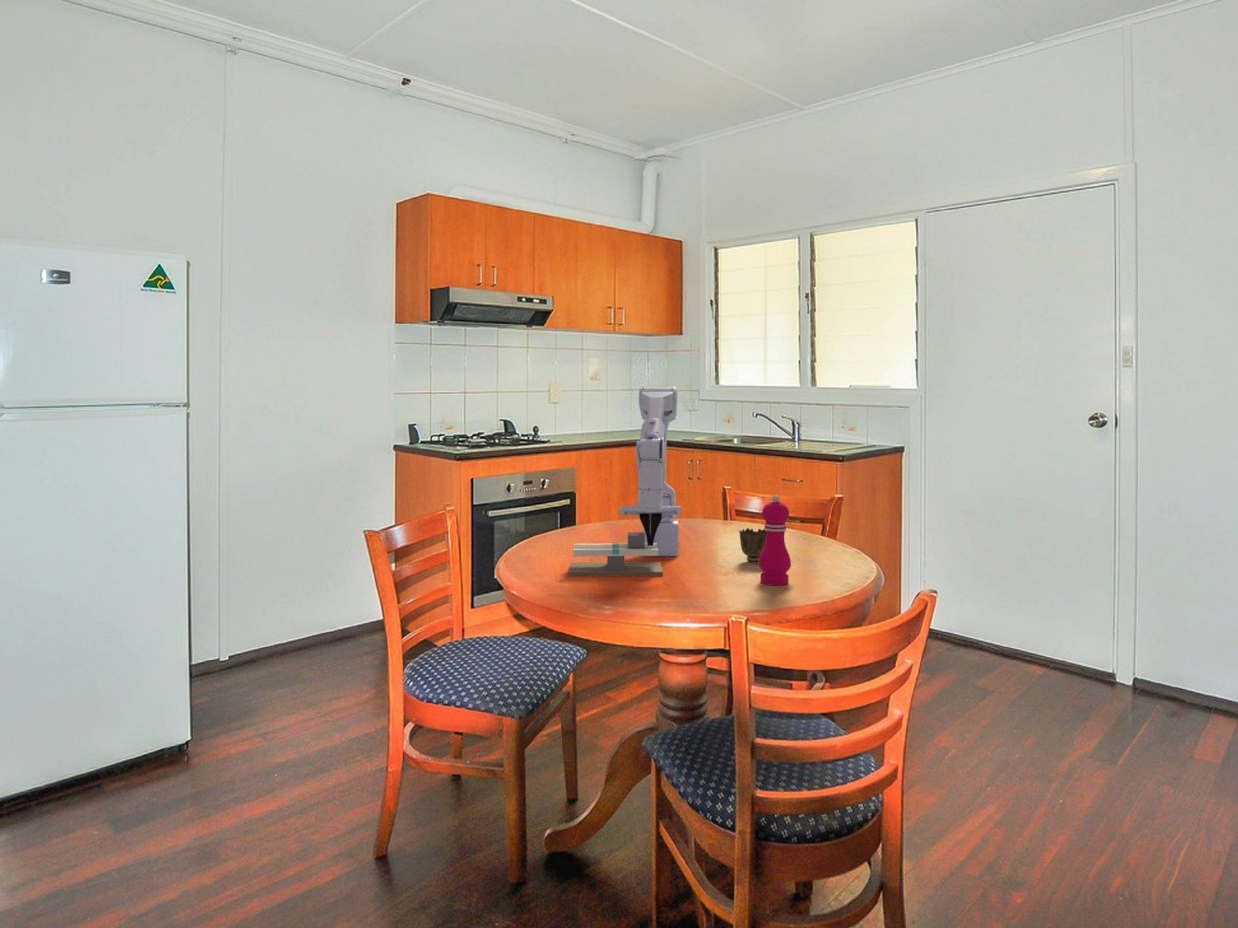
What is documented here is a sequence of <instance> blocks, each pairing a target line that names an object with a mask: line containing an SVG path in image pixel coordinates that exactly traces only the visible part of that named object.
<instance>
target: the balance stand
mask: <svg viewBox="0 0 1238 928" xmlns="http://www.w3.org/2000/svg"><path fill="white" fill-rule="evenodd" d="M572 550H573V551H572V553H573V557H606V558H607V560H606V561H607V562H606V561H605V562H604V561H601V562H600V561H599V562H594V561H593V562H590V561H588V562H587V561H585V562H584V561H583V562H581V561H579V562H577V561H576V562H570V565H569V571H568V577H664V571H663V568H662V564H661V561H625V557H659V556H658V549H657V543H653V546H648V545H647V543H645V549H628V543H619V542H612V543H574V548H573V549H572Z"/></svg>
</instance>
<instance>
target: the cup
mask: <svg viewBox="0 0 1238 928" xmlns="http://www.w3.org/2000/svg"><path fill="white" fill-rule="evenodd" d="M739 539H740V541H739V542H740V547H741V551H742V553H743V554H744V555H745V556H746V561H747V562H748V563H751V564H757V563H758V564H759V557H760V554H761V552H762V550H763V548H764V546H765V542H766V530H765V529H764V528H763V529H761V528H758V529H757V530H756V531H754V528H751V529H750V528H748V527H746V529H744V528H743V529H742V530H741V529H740V530H739Z"/></svg>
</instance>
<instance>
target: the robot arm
mask: <svg viewBox="0 0 1238 928" xmlns="http://www.w3.org/2000/svg"><path fill="white" fill-rule="evenodd" d="M638 406H639V412H640V416H641V419H642V420H643V422H642V425H641V430H640V436H639V440H637V441H636V446H635V455H636V462H637V463H636V464H637V467H636V468H637V470H638V491H637V493H638V494H637V495H638V496H637V497H638V498H637V505H627V506H625V505H624V506H623V505H621V506H619V516H621V517H623V516H638V518H639V520H640V523H641V525H642V532H644V534H645V543H647V545H648V546H653V543H657V549H658V556H657V557H679V556H680V555H679V548H680V541H679V540H680V539H679V534H680V533H679V521H678V520H674V519H675V518H676V516H682V507H681V505H677V500H676V499H677V498H676V491H675V489H674V488H673V487H672V486H670V485H669V484H668V483H667V482H666V481H667V479H666V478H667V474H666V472H667V444H668V443H667V440H668V439H667V435H668V428H669V426H670V423H671V422H673V421H674V420H676V417H677V415H678V414H677V411H678V388H676V386H672V387H669V386H667V387H665V386H664V387H663V386H662V387H661V386H660V387H659V386H658V387H655V386H654V387H652V386H651V387H648V386H647V387H645V386H641V387H640V389H639V392H638Z"/></svg>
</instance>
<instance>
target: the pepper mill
mask: <svg viewBox="0 0 1238 928" xmlns="http://www.w3.org/2000/svg"><path fill="white" fill-rule="evenodd" d="M780 500H781V498H780V496H779V495H778V494H774V495H773V496H772V497H771V501H770V502H767V503H766V504H765V505H764V506H763V508H762V510H761V511H762V512H761V516H762V518H763V520H764V521H765V522H764V527H763V529H765V530H766V542H765V546H764V548H763V550H762V552H761V554H760V557H759V563H758V567H759V568H760V570H761V571H762V572H761V573H760V583H762V584H763V585H768V586H786V585H787V584H789V574H788V573H787V572H788V571H789V570H790V569H791V566H792V560H791V556H790V553H789V551H788V549H787V547H786V542H785V535H786V534H785V532H786V531H787V530H788V529H787V526H788V524H787V521H788V519H789V518H790V510H789V508H788V506H787V505H786V504H785V503H783V502H781V501H780Z"/></svg>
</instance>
